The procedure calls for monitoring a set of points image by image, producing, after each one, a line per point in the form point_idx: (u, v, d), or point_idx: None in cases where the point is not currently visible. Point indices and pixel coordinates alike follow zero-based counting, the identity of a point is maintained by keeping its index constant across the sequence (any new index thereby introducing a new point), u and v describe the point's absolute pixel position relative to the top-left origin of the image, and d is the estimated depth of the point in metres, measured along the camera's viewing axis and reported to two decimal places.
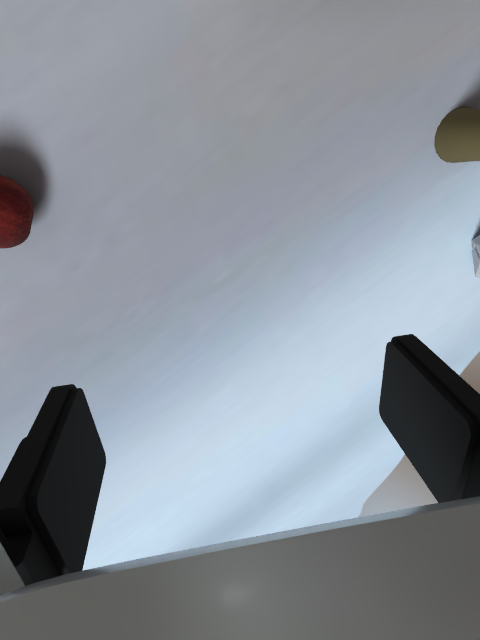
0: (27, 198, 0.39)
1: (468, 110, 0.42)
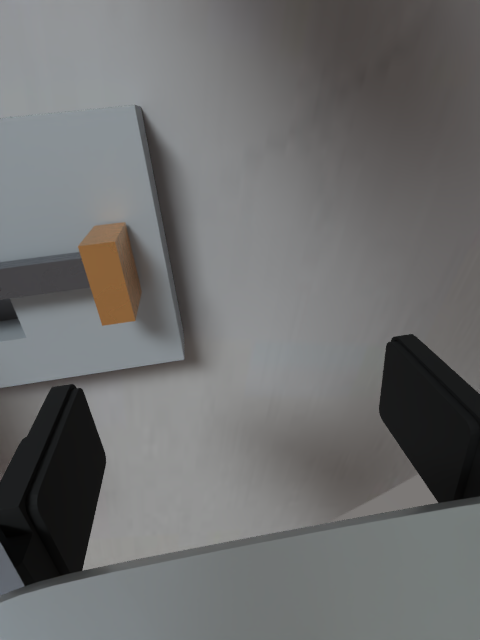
0: None
1: None
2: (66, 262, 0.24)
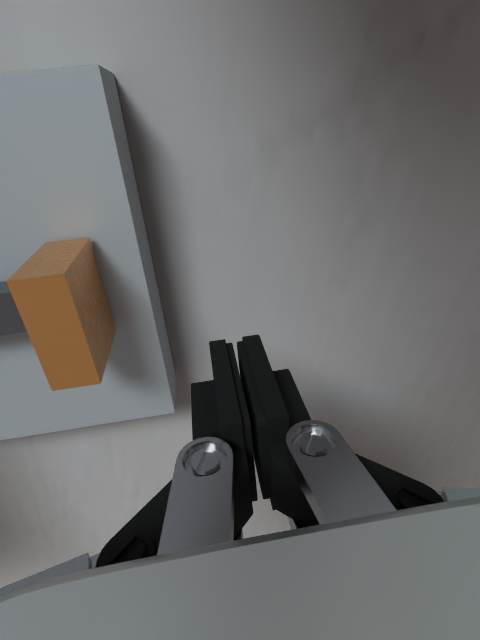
0: None
1: None
2: (2, 296, 0.16)
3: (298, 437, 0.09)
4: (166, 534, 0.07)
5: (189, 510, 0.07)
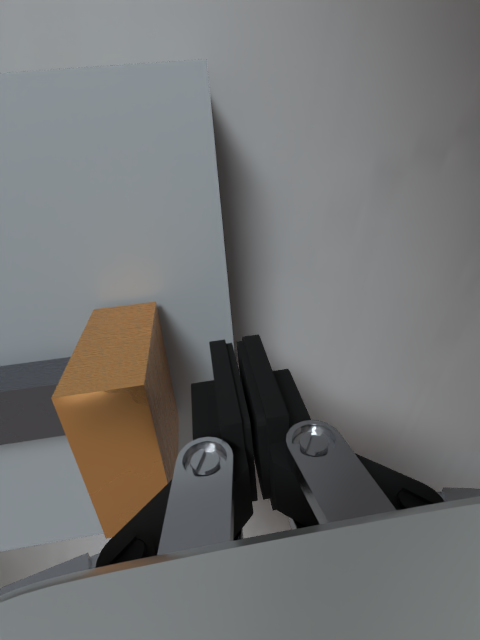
0: None
1: None
2: (34, 391, 0.11)
3: (298, 437, 0.09)
4: (166, 534, 0.07)
5: (189, 510, 0.07)
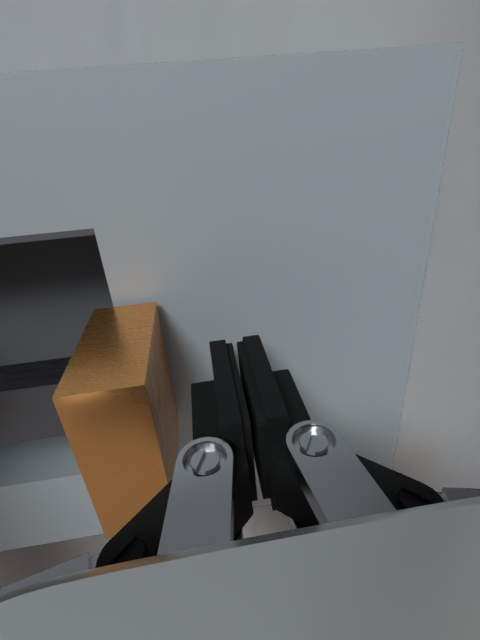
0: None
1: None
2: (34, 391, 0.11)
3: (298, 437, 0.09)
4: (166, 534, 0.07)
5: (189, 510, 0.07)
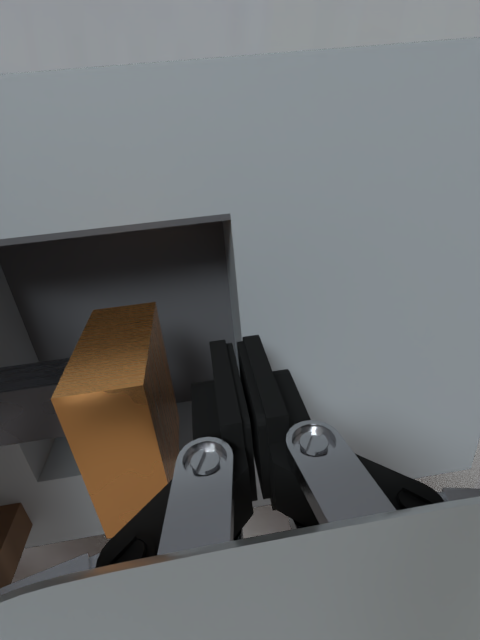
0: None
1: None
2: (34, 392, 0.11)
3: (298, 437, 0.09)
4: (166, 534, 0.07)
5: (189, 510, 0.07)
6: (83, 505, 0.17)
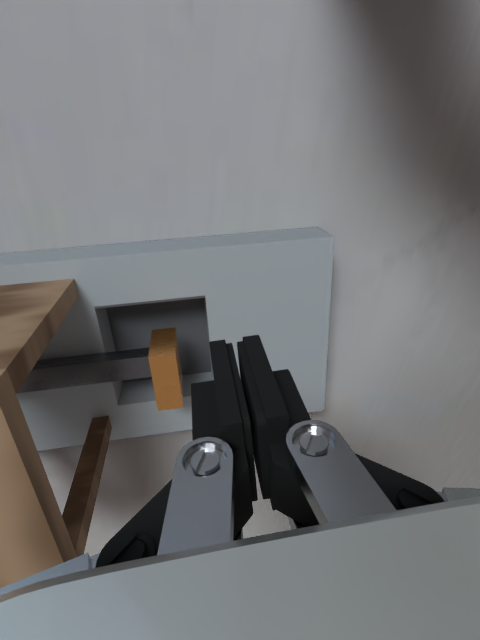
0: None
1: None
2: (131, 359, 0.31)
3: (298, 437, 0.09)
4: (166, 534, 0.07)
5: (188, 510, 0.07)
6: (136, 419, 0.36)
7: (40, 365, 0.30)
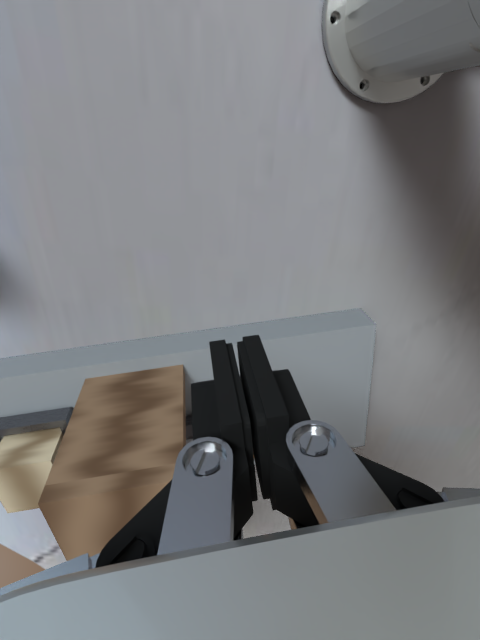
0: None
1: None
2: None
3: (298, 437, 0.09)
4: (166, 534, 0.07)
5: (189, 510, 0.07)
6: None
7: None
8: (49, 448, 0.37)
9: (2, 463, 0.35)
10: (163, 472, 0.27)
